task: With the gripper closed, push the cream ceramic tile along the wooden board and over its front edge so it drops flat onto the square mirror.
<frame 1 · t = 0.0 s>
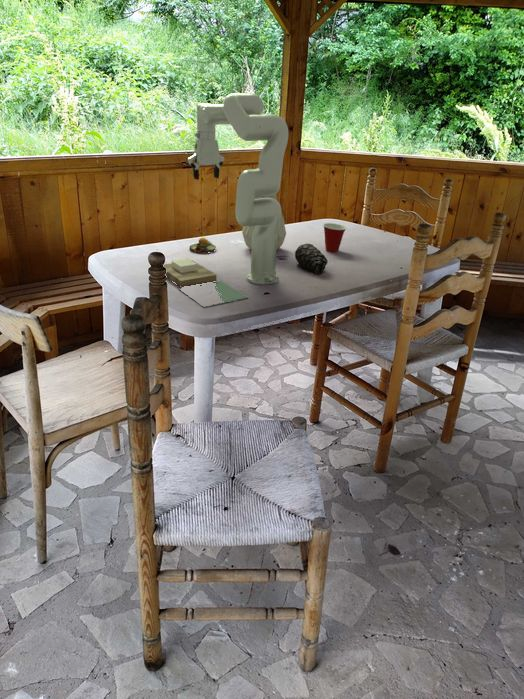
hand: (206, 178, 236), 31 cm above the table, tool pointing down, fingers open, 9 cm apart
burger: (202, 250, 250), on the table
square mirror: (213, 294, 202), on the table
plastic cup: (332, 251, 257), on the table
pine cone: (312, 269, 232), on the table
tile: (184, 268, 217), point 3 cm above the table, touching wooden board
vase: (263, 250, 254), on the table
wooden board: (187, 277, 217), on the table
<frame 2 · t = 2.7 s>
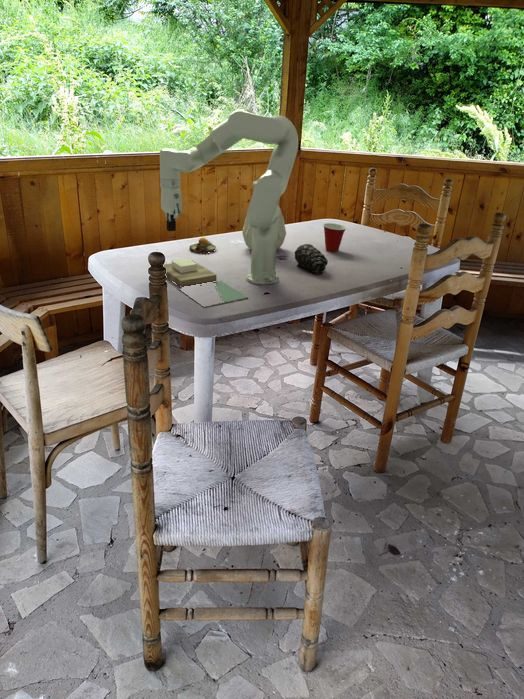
hand: (171, 230, 218), 16 cm above the table, tool pointing down, fingers closed
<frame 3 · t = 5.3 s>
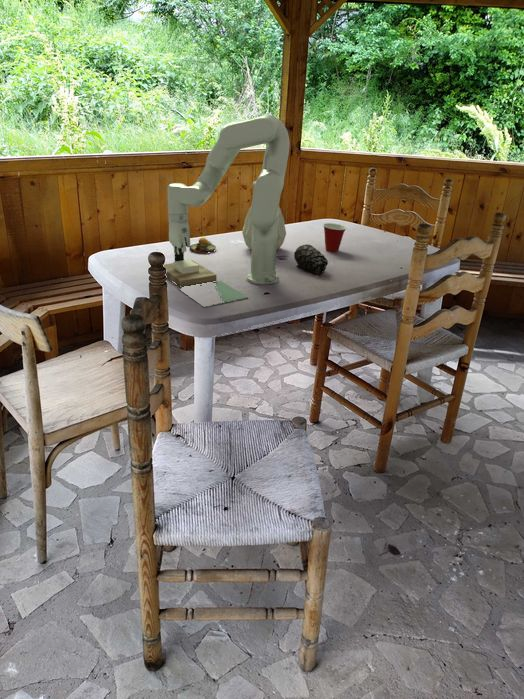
hand: (179, 263, 219), 4 cm above the table, tool pointing down, fingers closed
tile: (186, 269, 215), point 3 cm above the table
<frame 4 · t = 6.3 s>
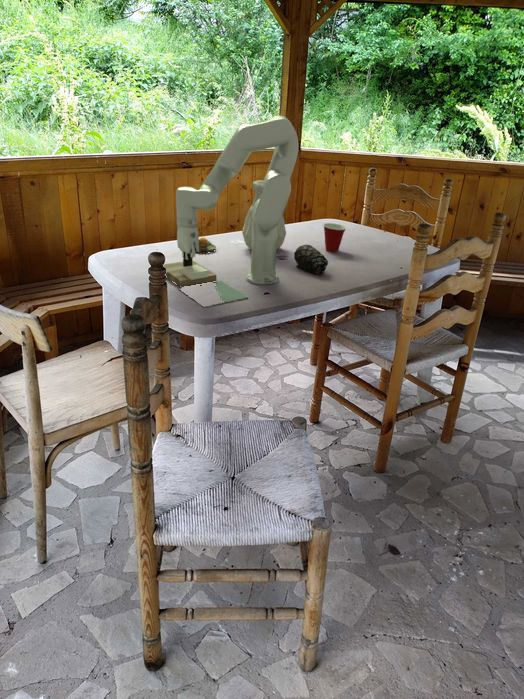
hand: (187, 268, 214), 4 cm above the table, tool pointing down, fingers closed
tile: (194, 275, 210), point 3 cm above the table, touching gripper
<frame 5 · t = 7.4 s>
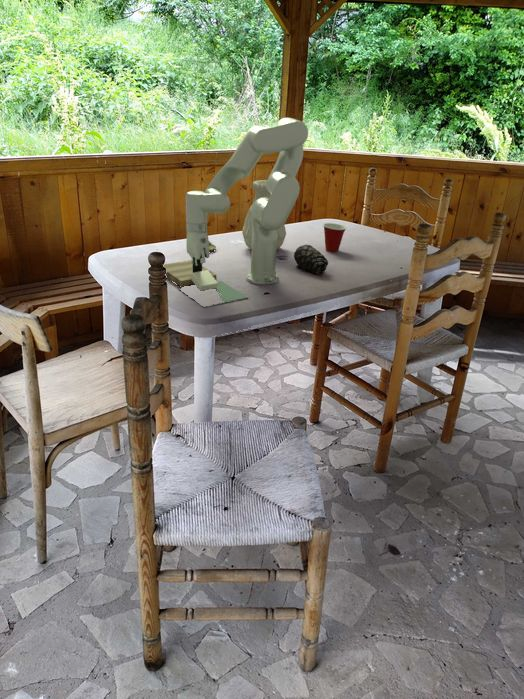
hand: (197, 274, 209), 4 cm above the table, tool pointing down, fingers closed
tile: (203, 283, 206), point 2 cm above the table, tilted 19°
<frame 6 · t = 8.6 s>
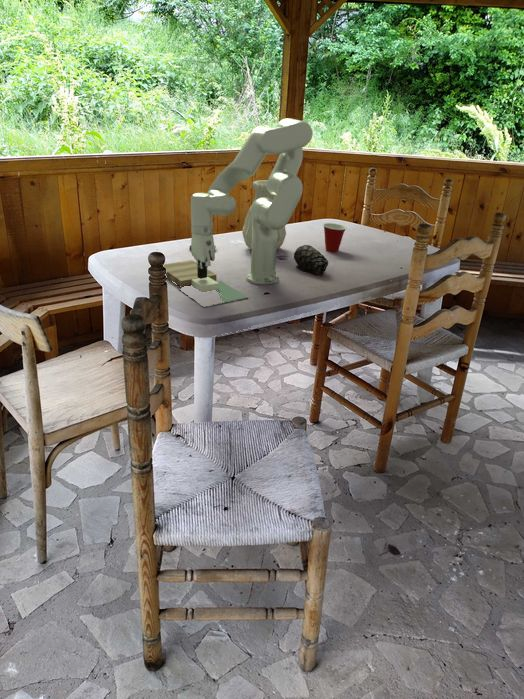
hand: (202, 277, 206), 4 cm above the table, tool pointing down, fingers closed
tile: (205, 287, 206), resting on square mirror
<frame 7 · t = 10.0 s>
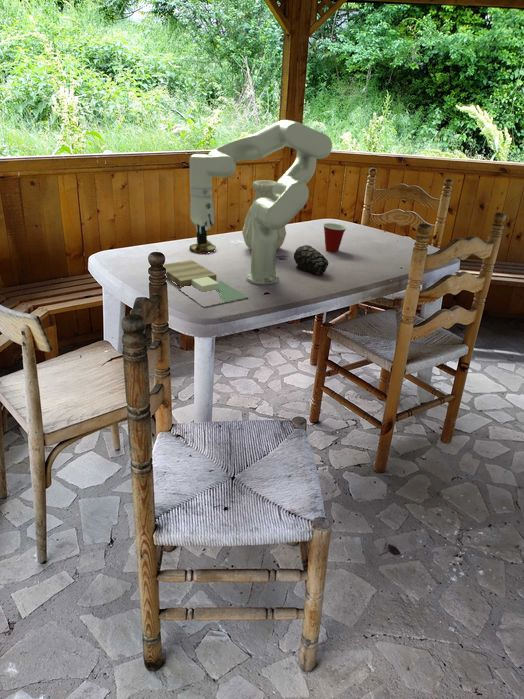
hand: (201, 243, 200), 17 cm above the table, tool pointing down, fingers closed
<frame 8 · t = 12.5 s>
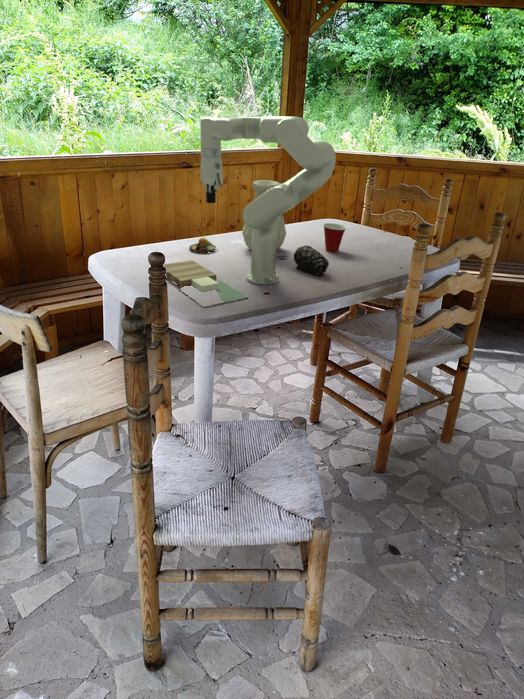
hand: (210, 202, 214), 27 cm above the table, tool pointing down, fingers closed
at the end: tile inside the target area (5.6 cm from its centre), point 0.5 cm above the table; tile tilted 0° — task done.
